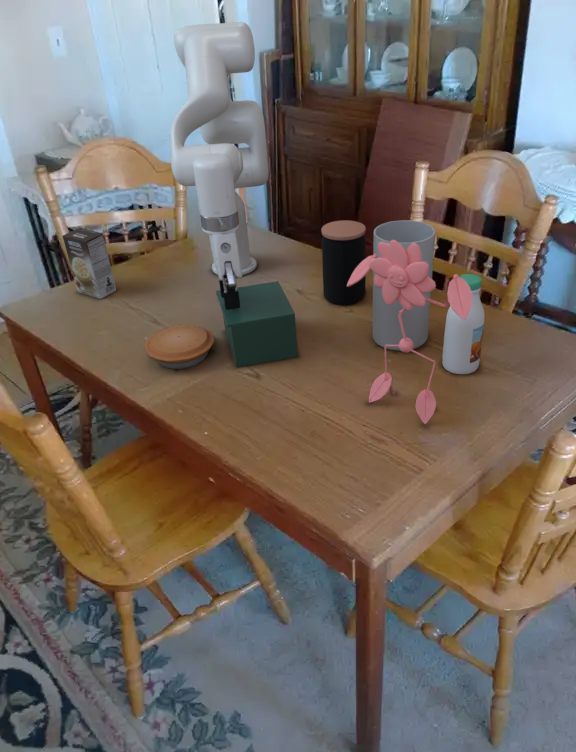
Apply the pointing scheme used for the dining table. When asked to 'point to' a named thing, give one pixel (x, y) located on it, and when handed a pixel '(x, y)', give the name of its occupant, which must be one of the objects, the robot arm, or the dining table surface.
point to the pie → (180, 346)
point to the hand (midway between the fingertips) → (230, 301)
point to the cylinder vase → (387, 315)
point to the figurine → (408, 305)
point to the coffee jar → (343, 261)
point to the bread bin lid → (257, 305)
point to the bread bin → (263, 341)
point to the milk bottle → (464, 333)
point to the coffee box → (89, 262)
